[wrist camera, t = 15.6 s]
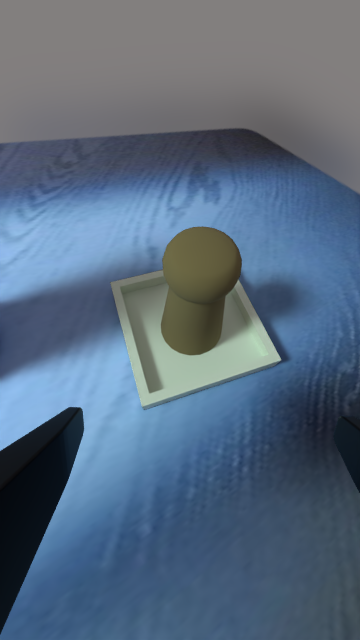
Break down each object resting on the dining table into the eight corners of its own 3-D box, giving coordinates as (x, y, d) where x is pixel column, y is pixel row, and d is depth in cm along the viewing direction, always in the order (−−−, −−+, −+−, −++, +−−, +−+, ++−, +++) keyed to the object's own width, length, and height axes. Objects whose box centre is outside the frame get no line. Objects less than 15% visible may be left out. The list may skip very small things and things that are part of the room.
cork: (199, 291, 27) (215, 200, 17) (234, 335, 25) (275, 260, 15) (149, 317, 26) (136, 233, 16) (181, 367, 23) (190, 305, 14)
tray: (274, 366, 24) (281, 360, 23) (144, 409, 22) (142, 406, 20) (222, 265, 30) (225, 254, 28) (113, 292, 27) (110, 282, 26)
